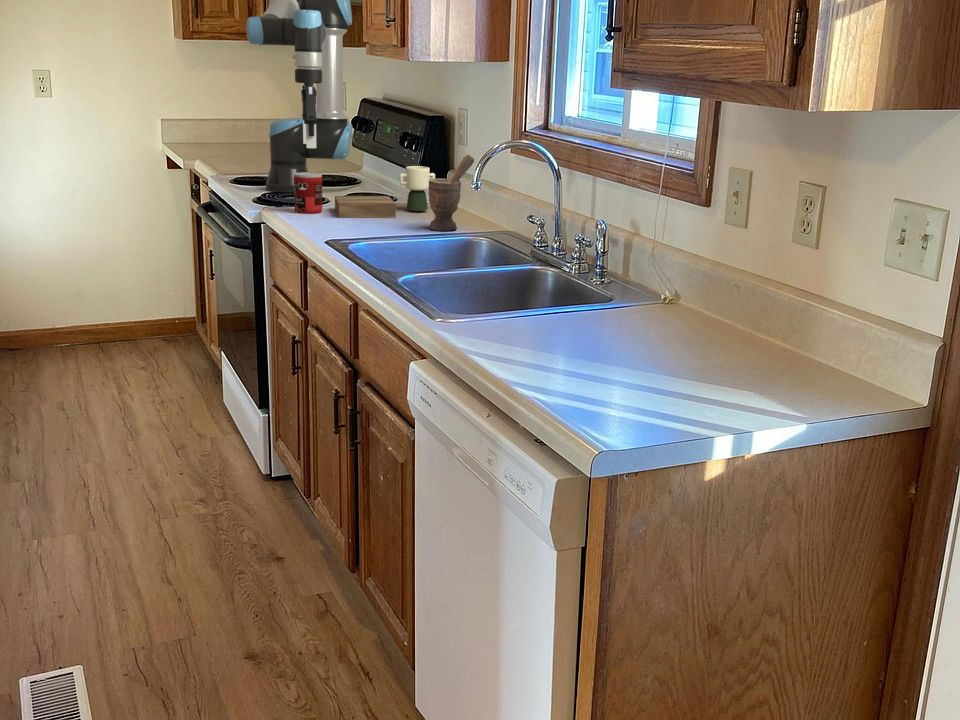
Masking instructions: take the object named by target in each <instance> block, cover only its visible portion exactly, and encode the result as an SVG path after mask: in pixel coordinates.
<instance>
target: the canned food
mask: <svg viewBox="0 0 960 720" xmlns="http://www.w3.org/2000/svg"><path fill="white" fill-rule="evenodd" d="M293 196H294V203H293V204H294V212H295V213H296V212H297V213H298V214H301V213H302V214H304V215H306V214H307V215H313V214H314V215H315V214H321V213H323V174H322V173H320V172H309V171H308V172H302V173H295V174H294V192H293Z"/></svg>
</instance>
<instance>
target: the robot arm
mask: <svg viewBox="0 0 960 720" xmlns="http://www.w3.org/2000/svg"><path fill="white" fill-rule="evenodd" d="M352 24H353V15H352V6H351V0H269V3H268V8H267V9H266V10H265V11H264V12H263V14H262V15H261V16H259V15H256V16H250V17H248V19H247V20H246V26H245V27H246V37H247V41H248V42H249V43H250V44H251V45H259V46H262V45H263V46H264V45H265V46H288V47H289V46H290V47H291V46H293V47H294V55H292V56H291V58H292V59H293V60H294V66H295V67H296V68H295V70H294V82H295V83H298V84H303V85H302V89H301V90H300V95H301V101H302V102H301V103H302V115H301V117H296V118H295V117H294V118H292V117H291V118H284V119H277V120H274V121H272V122H271V123H270V124H269V134H268V136H269V144H270V145H269V146H270V147H269V149H270V150H269V151H270V153H269V154H270V168H269V172H268V175H267V178H266V182H265V190H267V191H269V192H275V193H276V192H277V193H294V174H295V173H302V172H309V170H308V168H307V167H308V166H307V159H313V160H314V159H319V160H321V159H322V160H345V159H346V158H347V157H348V156H349V154H350V149H351V144H352V136H353V124H352V123H350V122H348V119H349V118H348V117H347V115H346V114H345V113H344V79H343V78H344V74H343V73H344V71H343V70H344V67H343V65H344V64H343V63H344V59H343V58H344V57H343V51H344V49H343V44H344V43H343V39H344V38H343V37H344V35H345V34H346V33H347V32H348V26H351V25H352ZM314 84H315V86H314Z"/></svg>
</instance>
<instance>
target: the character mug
mask: <svg viewBox="0 0 960 720" xmlns="http://www.w3.org/2000/svg"><path fill="white" fill-rule="evenodd" d="M430 177H431V179H436V174H435V173H434V172H431V173H430V167H428V166H422V165H420V166H419V165H411V166H409V165H408V166H405V172H404V173H400V174H399V185H400V186H404V185H405V188H406V189H407V190H409V192H408V195H407V201H406V210H411V212H412V211H413V212H414V211H417V212H423V211H427V210H428V199H427V198H428V197H427V193H426V192H425V191H427V190H429V179H430ZM404 178H405V181H404Z"/></svg>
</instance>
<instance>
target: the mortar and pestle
mask: <svg viewBox="0 0 960 720" xmlns="http://www.w3.org/2000/svg"><path fill="white" fill-rule="evenodd" d="M474 162H475V159H474V157H473V156H471V155H469V154H466V155H465V156H464V157H463V158H462V160H461V161H460V163H459V164H458V167H457V168H456V170H455V172H454V173H453V175H452V176H451V178H435V179H432V178H429V189H428V202H429V204H430V206H429V207H430V210H432V212H433V214H434V216H435V218H434V219H433V220H432V221H430V224H429V226H428V227H429V228H430V230H433V231H438V232H439V231H440V232H441V231H443V232H445V231H446V232H447V231H448V232H449V231H454V230H457V224H456V222H455V221H454V220H453V214H454V213H456V212H457V210H458V205H459V203H460V200H461V190H462V189H461V188H462V185H461V184H462V181H461V178H463V176H464V174H465V173H466V172H467V171H468V170H469V169H470V168H471V166H472V165H473V164H474Z"/></svg>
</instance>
